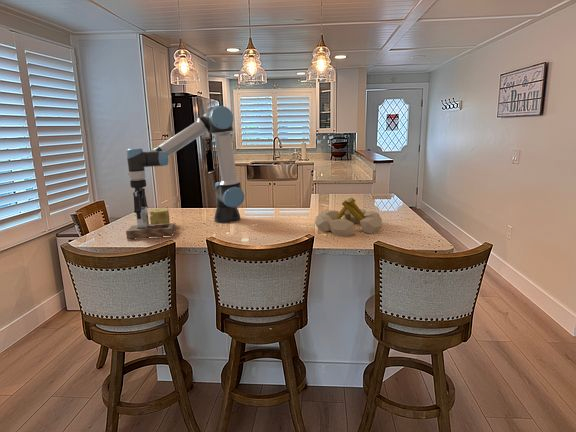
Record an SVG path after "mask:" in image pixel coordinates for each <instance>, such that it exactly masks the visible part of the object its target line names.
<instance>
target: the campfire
mask: <svg viewBox="0 0 576 432" xmlns="http://www.w3.org/2000/svg"><path fill="white" fill-rule="evenodd" d="M341 205H342V206H343V207H342V208H341V209H340V211H339V210H334V209H326V210H322V211H321V212H320V213H319V214H318V215H316V216H315V221H314V225H316V227H317V229H318V230H320V232H322V233H325V232H327V233H328V232H332V234H333V235H334V236H336V235H338V237H349V236H353V235H355V234H356V233H355V224H360V226H361V229H362V231H363V233H365V234H369V235H372V234H375V233H379V230H380V229H381V228H382V223H383V220H382V217H381V216H380V214H379V212H376V211H375V210H370V211H367V210H366V209H362V208H359V206H358V205H357V204H356V199H354V198H353V197H350V198H347V200H346V199H345V200H343V202H342V203H341Z"/></svg>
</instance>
